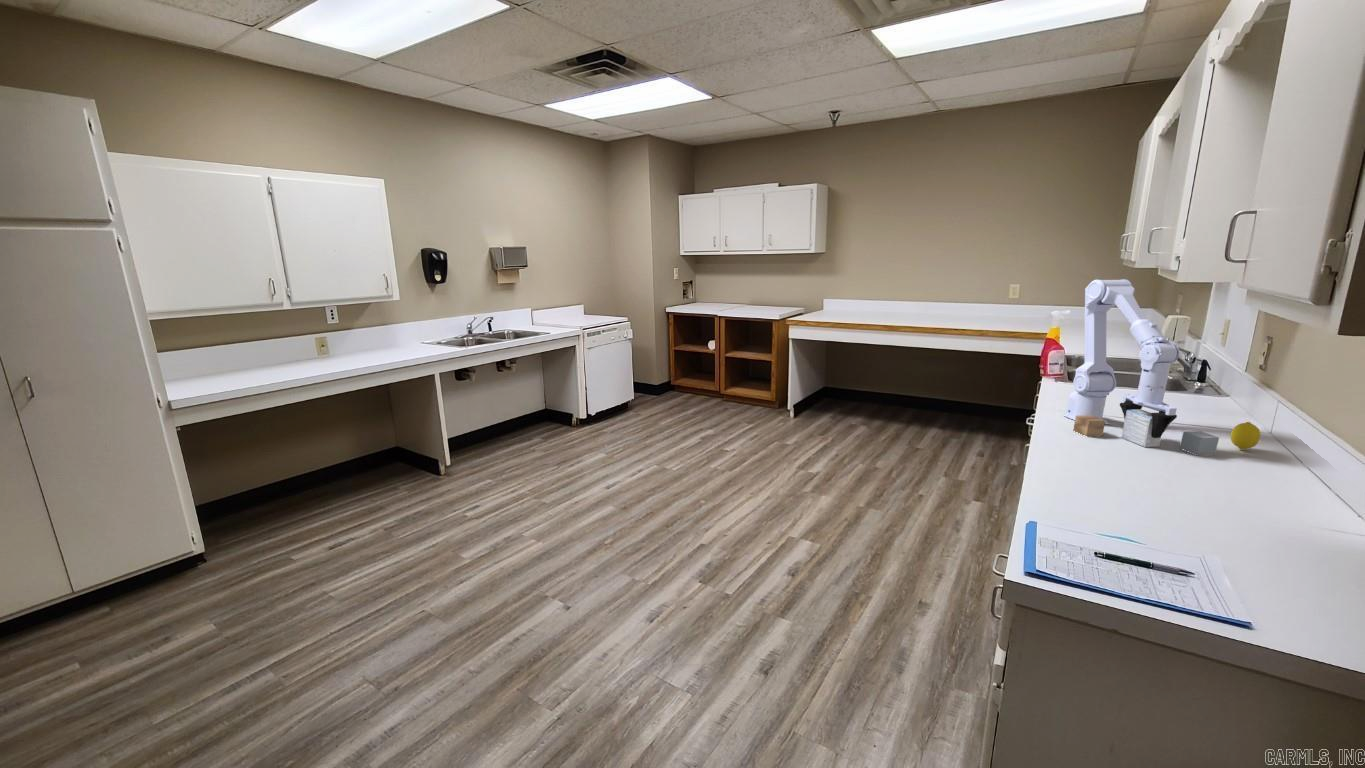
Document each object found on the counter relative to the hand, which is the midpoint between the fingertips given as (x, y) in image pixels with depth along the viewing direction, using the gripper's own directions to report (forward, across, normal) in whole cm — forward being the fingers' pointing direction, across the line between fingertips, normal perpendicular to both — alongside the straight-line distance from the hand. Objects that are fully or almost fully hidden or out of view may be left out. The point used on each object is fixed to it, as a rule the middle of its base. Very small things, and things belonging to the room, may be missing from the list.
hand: (1142, 432), depth 154 cm
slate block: (+3, +8, +9) cm, 12 cm away
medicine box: (+3, 0, 0) cm, 3 cm away
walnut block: (+3, -8, -9) cm, 13 cm away
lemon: (+3, +8, +22) cm, 24 cm away
